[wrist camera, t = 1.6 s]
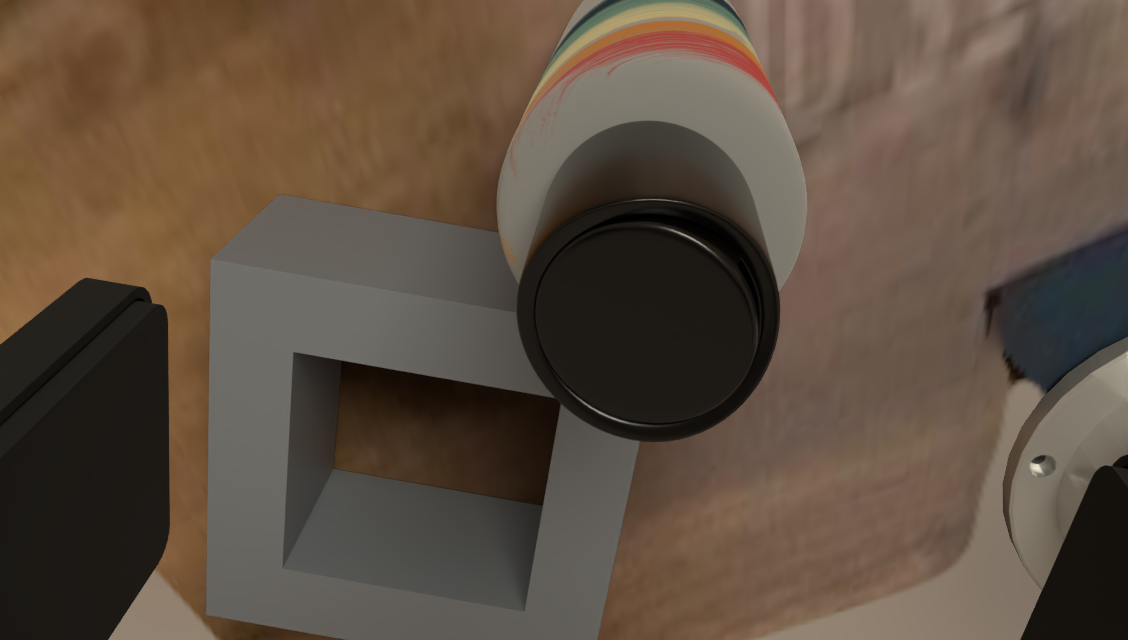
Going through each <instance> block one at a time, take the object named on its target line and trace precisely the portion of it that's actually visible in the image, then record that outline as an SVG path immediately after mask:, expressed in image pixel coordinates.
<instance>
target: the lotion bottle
mask: <svg viewBox="0 0 1128 640" xmlns="http://www.w3.org/2000/svg"><path fill="white" fill-rule="evenodd" d="M806 217H807V193H806V184H805V178H804V173H803V169H802V165H801V162H800V158H799V155H798V152H797V149H796V146H795V144H794V141H793V139H792V136H791V134H790V131H789V129H788V126H787V124H786V121H785V119H784V117H783V114H782V112H781V110H780V107H779V105H778V103H777V100H776V98H775V96H774V94H773V91H772V89H771V87H770V84H769V82H768V80H767V78H766V75H765V73H764V71H763V68H762V66H761V64H760V61H759V59H758V57H757V55H756V52H755V50H754V48H753V45H752V43H751V41H750V38H749V36H748V34H747V32H746V29H745V27H744V25H743V23H742V21H741V19H740V17H739V15H738V14H737V12H736V11H735V9H734V7H733V6H732V5H731V3H730V2H729V1H728V0H584V1H583V2H582V3H581V4H580V6H579V7H578V9H577V10H576V11H575V13H574V15H573V16H572V18H571V20H570V21H569V23H568V25H567V27H566V29H565V31H564V33H563V35H562V37H561V39H560V41H559V43H558V45H557V47H556V49H555V51H554V53H553V55H552V58H551V60H550V62H549V64H548V66H547V68H546V70H545V72H544V74H543V76H542V78H541V80H540V82H539V84H538V86H537V88H536V90H535V92H534V94H533V96H532V98H531V100H530V102H529V104H528V107H527V109H526V111H525V113H524V115H523V117H522V119H521V121H520V123H519V126H518V128H517V130H516V132H515V134H514V136H513V139H512V141H511V143H510V146H509V148H508V151H507V154H506V157H505V160H504V163H503V166H502V169H501V174H500V178H499V183H498V191H497V221H498V230H499V235H500V241H501V245H502V248H503V251H504V255H505V258H506V260H507V262H508V265H509V267H510V270H511V272H512V273H513V275H514V277H515V279H516V281H517V283H518V284H519V286H518V292H517V300H516V315H517V324H518V330H519V335H520V338H521V342H522V345H523V348H524V350H525V353H526V355H527V358H528V360H529V362H530V364H531V366H532V368H533V369H534V371H535V373H536V374H537V376H538V377H539V379H540V380H541V382H542V383H543V384H544V386H545V387H546V388H547V389H548V391H549V392H550V393H551V394H552V395H553V396H554V397H555V398H556V399H557V400H558V401H559V402H560V403H561V404H562V405H563V406H564V407H565V408H566V409H568V410H569V411H570V412H571V413H572V414H574V415H575V416H577V417H578V418H580V419H581V420H582V421H584V422H586V423H588V424H589V425H591V426H593V427H595V428H597V429H599V430H601V431H603V432H606V433H609V434H611V435H614V436H617V437H621V438H625V439H629V440H635V441H642V442H666V441H673V440H679V439H683V438H687V437H691V436H693V435H696V434H699V433H701V432H704V431H706V430H708V429H710V428H712V427H714V426H715V425H717V424H718V423H720V422H722V421H723V420H725V419H726V418H727V417H728V416H730V415H731V414H732V413H734V412H735V411H736V410H737V409H738V408H739V407H740V406H741V405H742V404H743V403H744V402H745V401H746V400H747V398H748V397H749V396H750V395H751V394H752V392H753V391H754V390H755V388H756V387H757V385H758V384H759V382H760V381H761V379H762V377H763V375H764V374H765V372H766V370H767V367H768V365H769V363H770V361H771V358H772V355H773V352H774V349H775V346H776V342H777V338H778V332H779V325H780V299H779V291H780V290H781V288H782V287H783V285H784V283H785V282H786V280H787V278H788V277H789V275H790V273H791V271H792V269H793V267H794V265H795V262H796V260H797V257H798V254H799V251H800V248H801V244H802V240H803V236H804V231H805V224H806Z"/></svg>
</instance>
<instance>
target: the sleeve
mask: <svg viewBox="0 0 1128 640" xmlns="http://www.w3.org/2000/svg"><path fill="white" fill-rule="evenodd" d="M518 286H519V284H518V283H517V281H516V279H515V277H514V275H513V273H512V272H511V270H510V267H509V265H508V262H507V260H506V258H505V255H504V251H503V248H502V245H501V241H500V235H499V232H493V231H487V230H481V229H476V228H470V227H464V226H458V225H453V224H447V223H441V222H436V221H430V220H424V219H418V218H413V217H407V216H401V215H395V214H390V213H384V212H378V211H373V210H367V209H361V208H355V207H350V206H344V205H338V204H332V203H327V202H321V201H315V200H309V199H304V198H298V197H292V196H287V195H281V194H279V195H278V196H277V197H276V198H275V199H274V200H273V201H272V202H271V203H270V204H269V205H268V206H266V207H265V208H264V209H263V210H262V211H261V212H260V213H259V214H258V215H257V216H256V217H255V218H254V219H253V220H252V221H251V222H249V223H248V224H247V225H246V226H245V227H244V228H243V229H242V230H241V231H240V232H239V233H238V234H237V235H236V236H235V237H234V238H233V239H231V240H230V241H229V242H228V243H227V244H226V245H225V246H224V247H223V248H222V249H221V250H220V251H219V252H218V253H217V254H216V255H215V256H213V257H212V258H211V276H210V353H209V431H208V508H207V586H206V615H210V616H215V617H221V618H226V619H232V620H238V621H243V622H249V623H254V624H260V625H266V626H271V627H277V628H282V629H288V630H294V631H299V632H305V633H310V634H316V635H322V636H327V637H333V638H338V639H344V640H597V639H598V634H599V629H600V625H601V620H602V616H603V611H604V606H605V602H606V597H607V592H608V588H609V583H610V578H611V574H612V569H613V564H614V560H615V555H616V551H617V546H618V541H619V537H620V532H621V527H622V523H623V518H624V513H625V509H626V504H627V499H628V495H629V490H630V486H631V481H632V476H633V472H634V467H635V462H636V458H637V453H638V448H639V444H640V441H635V440H629V439H625V438H621V437H617V436H614V435H611V434H609V433H606V432H603V431H601V430H599V429H597V428H595V427H593V426H591V425H589V424H588V423H586V422H584V421H582V420H581V419H580V418H578V417H577V416H575V415H574V414H572V413H571V412H570V411H569V410H568V409H566V408H565V407H564V406H563V405H562V404H561V406H560V412H559V418H558V423H557V429H556V435H555V440H554V446H553V452H552V458H551V463H550V469H549V475H548V480H547V486H546V492H545V497H544V503H543V506H540V505H535V504H529V503H524V502H518V501H512V500H507V499H501V498H495V497H490V496H484V495H478V494H473V493H467V492H461V491H456V490H450V489H444V488H439V487H433V486H428V485H422V484H416V483H411V482H405V481H399V480H394V479H388V478H382V477H377V476H371V475H365V474H360V473H354V472H349V471H343V470H337V469H334V458H335V444H336V431H337V417H338V403H339V389H340V376H341V362H342V361H348V362H353V363H359V364H365V365H370V366H376V367H382V368H387V369H393V370H399V371H404V372H410V373H416V374H421V375H427V376H433V377H438V378H444V379H450V380H456V381H461V382H467V383H473V384H478V385H484V386H490V387H495V388H501V389H507V390H512V391H518V392H524V393H529V394H535V395H541V396H546V397H552V398H555V397H554V396H553V395H552V394H551V393H550V392H549V391H548V389H547V388H546V387H545V386H544V384H543V383H542V382H541V380H540V379H539V377H538V376H537V374H536V373H535V371H534V369H533V368H532V366H531V364H530V362H529V360H528V358H527V355H526V353H525V350H524V348H523V345H522V342H521V338H520V335H519V330H518V324H517V315H516V300H517V292H518Z"/></svg>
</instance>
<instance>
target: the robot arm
mask: <svg viewBox="0 0 1128 640" xmlns="http://www.w3.org/2000/svg"><path fill="white" fill-rule="evenodd" d="M1003 513H1004V517H1005V521H1006V525H1007V528H1008V532H1009V536H1010V539H1011V541H1012V543H1013V545H1014V547H1015V549H1016V551H1017V553H1018V555H1019V557H1020V560H1021V562H1022V564H1023V566H1024V567H1025V568H1026V570H1027V571H1028V573H1029V574H1030V575H1031V577H1032V578H1033V579H1034V581H1035V582H1036V584H1037V585H1038V586H1039V587H1040V589H1041V590H1042V592H1041V594H1040V596H1039V599H1038V601H1037V603H1036V606H1035V608H1034V610H1033V612H1032V615H1031V617H1030V619H1029V621H1028V624H1027V626H1026V629H1025V631H1024V633H1023V635H1022V637H1021V640H1128V337H1126V338H1124V339H1122V340H1120V341H1118V342H1116V343H1114V344H1112V345H1110V346H1108V347H1106V348H1104V349H1102V350H1100V351H1098V352H1097V353H1096V354H1094V355H1093V356H1091V357H1090V358H1088V359H1087V360H1086V361H1084V362H1083V363H1081V364H1080V365H1079V366H1077V367H1076V368H1074V369H1073V370H1072V371H1070V372H1069V373H1067V374H1066V375H1065V376H1064V377H1063V378H1062V379H1061V380H1060V381H1059V382H1058V383H1057V384H1056V385H1055V386H1054V387H1053V388H1052V389H1051V390H1050V391H1049V392H1048V393H1047V394H1046V395H1045V396H1044V397H1043V398H1042V399H1041V401H1040V402H1039V403H1038V405H1037V406H1036V408H1035V409H1034V411H1033V412H1032V413H1031V415H1030V416H1029V418H1028V419H1027V420H1026V422H1025V423H1024V425H1023V426H1022V428H1021V430H1020V432H1019V434H1018V437H1017V439H1016V441H1015V443H1014V446H1013V448H1012V450H1011V452H1010V454H1009V458H1008V463H1007V467H1006V472H1005V476H1004V481H1003ZM169 526H170V502H169V389H168V318H167V312H166V309H165V308H164V307H163V305H159V304H153V303H152V300H151V297H150V294H149V292H148V291H147V290H146V289H145V288H144V287H138V286H132V285H126V284H120V283H114V282H108V281H102V280H97V279H91V278H84V279H82V280H80V281H79V282H77V283H76V284H75V285H74V286H73V287H71V288H70V289H69V290H68V291H66V292H65V293H64V294H63V295H61V296H60V297H59V298H58V299H56V300H55V301H54V302H53V303H51V304H50V305H49V306H48V307H46V308H45V309H44V310H43V311H42V312H40V313H39V314H38V315H37V316H35V317H34V318H33V319H32V320H30V321H29V322H28V323H27V324H25V325H24V326H23V327H22V328H20V329H19V330H18V331H17V332H15V333H14V334H13V335H12V336H10V337H9V338H8V339H7V340H6V341H4V342H3V343H2V344H1V345H0V640H108V639H109V637H110V636H111V634H112V633H113V631H114V630H115V628H116V627H117V625H118V624H119V622H120V621H121V619H122V617H123V616H124V615H125V613H126V612H127V610H128V609H129V607H130V606H131V604H132V602H133V601H134V600H135V598H136V597H137V595H138V593H139V592H140V590H141V589H142V587H143V586H144V584H145V583H146V581H147V580H148V578H149V577H150V575H151V574H152V572H153V571H154V569H155V568H156V566H157V565H158V563H159V561H160V559H161V558H162V555H163V553H164V550H165V547H166V544H167V540H168V535H169Z"/></svg>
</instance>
